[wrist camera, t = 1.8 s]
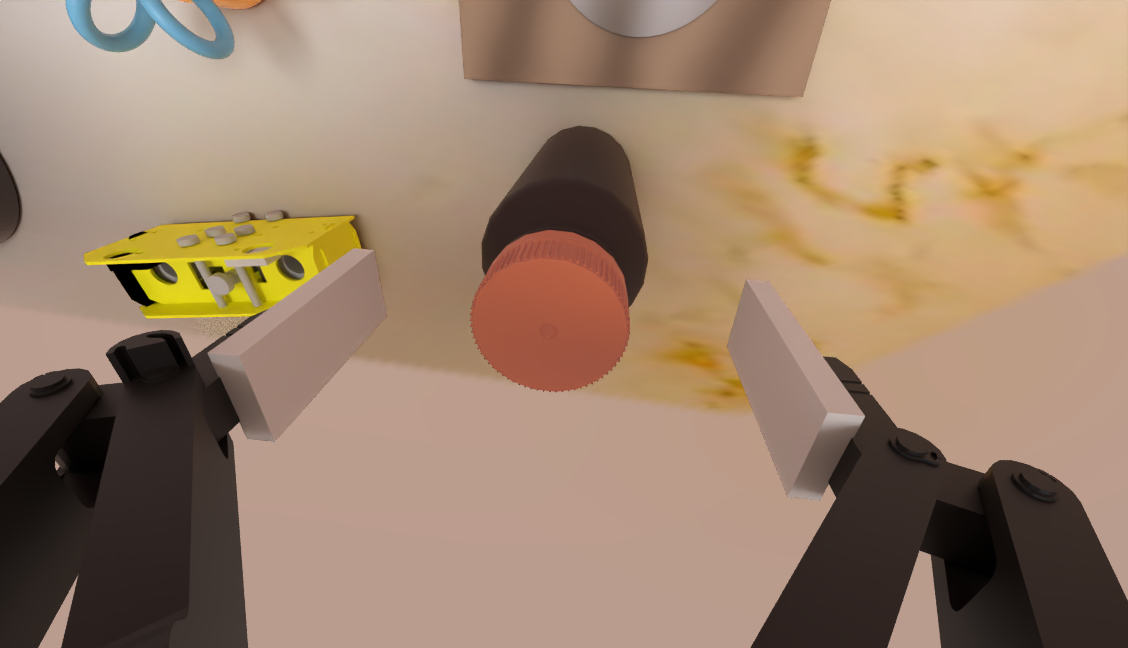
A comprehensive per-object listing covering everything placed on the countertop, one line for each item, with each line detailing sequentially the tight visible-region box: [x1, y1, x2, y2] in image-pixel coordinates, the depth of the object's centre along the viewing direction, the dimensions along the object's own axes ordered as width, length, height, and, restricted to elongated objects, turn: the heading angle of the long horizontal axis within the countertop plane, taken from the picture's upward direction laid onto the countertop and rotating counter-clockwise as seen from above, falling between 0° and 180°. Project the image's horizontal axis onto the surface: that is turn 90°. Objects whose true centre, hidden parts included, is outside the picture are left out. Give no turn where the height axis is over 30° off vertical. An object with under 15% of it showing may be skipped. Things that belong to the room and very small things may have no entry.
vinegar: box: [470, 126, 648, 392], centre depth 22 cm, size 7×7×20 cm
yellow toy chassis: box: [84, 211, 362, 318], centre depth 32 cm, size 16×6×8 cm, turn 94°
